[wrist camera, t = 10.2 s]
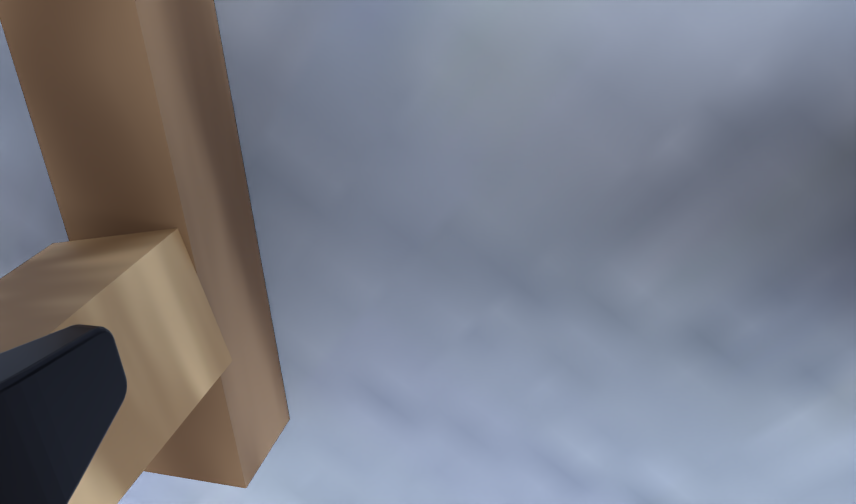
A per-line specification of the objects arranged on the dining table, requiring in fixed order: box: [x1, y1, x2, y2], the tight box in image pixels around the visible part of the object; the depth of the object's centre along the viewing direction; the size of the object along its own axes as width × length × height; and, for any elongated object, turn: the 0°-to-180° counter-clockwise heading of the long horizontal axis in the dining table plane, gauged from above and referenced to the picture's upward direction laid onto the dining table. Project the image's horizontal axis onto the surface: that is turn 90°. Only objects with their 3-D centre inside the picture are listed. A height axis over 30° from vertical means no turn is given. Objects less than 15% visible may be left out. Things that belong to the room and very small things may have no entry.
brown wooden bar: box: [0, 0, 290, 488], centre depth 23 cm, size 4×18×4 cm, turn 3°
